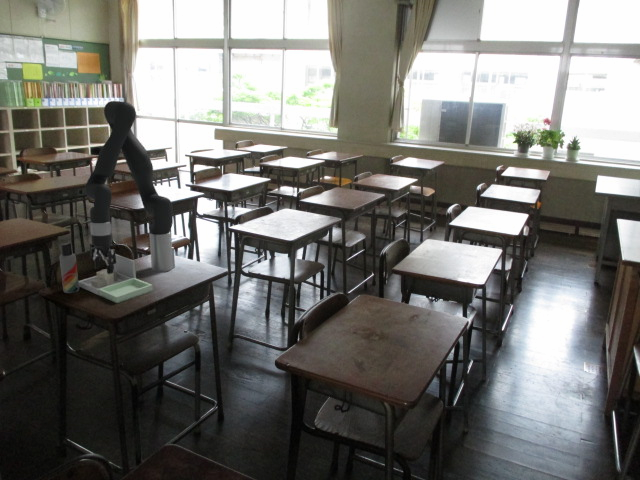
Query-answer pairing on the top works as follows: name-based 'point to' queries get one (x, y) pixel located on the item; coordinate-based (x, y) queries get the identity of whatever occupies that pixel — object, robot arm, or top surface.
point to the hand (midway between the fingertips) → (104, 271)
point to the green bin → (125, 290)
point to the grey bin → (88, 286)
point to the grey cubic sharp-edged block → (115, 275)
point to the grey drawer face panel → (125, 266)
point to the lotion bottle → (68, 269)
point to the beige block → (106, 276)
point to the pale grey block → (99, 283)
